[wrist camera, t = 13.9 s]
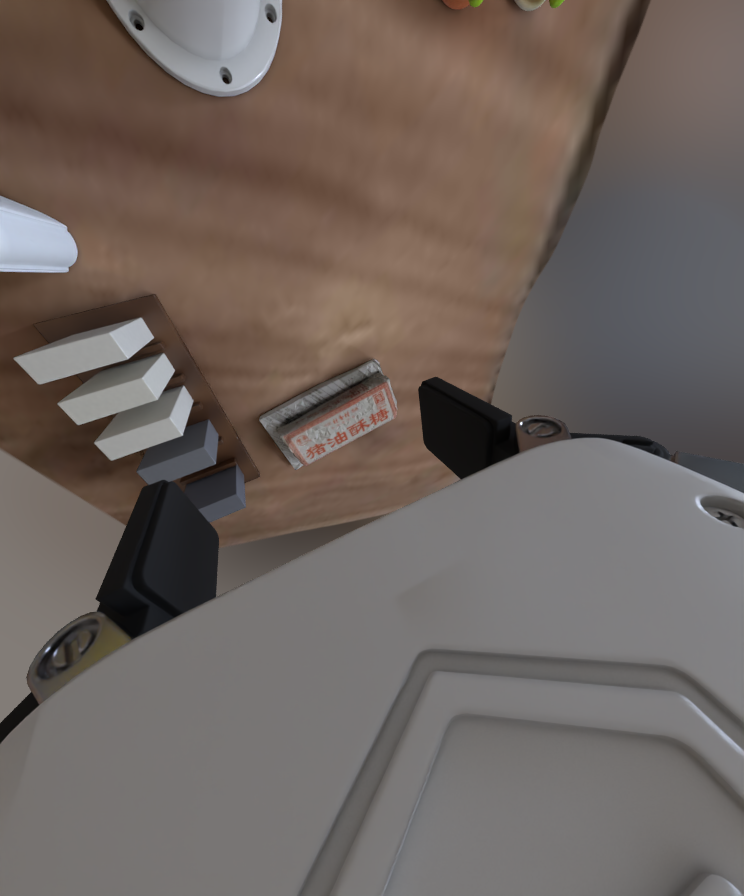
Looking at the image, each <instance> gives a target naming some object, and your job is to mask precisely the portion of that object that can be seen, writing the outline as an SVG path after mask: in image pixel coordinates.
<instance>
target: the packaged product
mask: <svg viewBox="0 0 744 896" xmlns="http://www.w3.org/2000/svg"><path fill="white" fill-rule="evenodd" d="M396 404H397V401H396V399H395V396H394V394H393V391H392V388H391V386H390V379H389V378H387V376H384V375H383V373H382V370H381V367H380V364H379V362H378V361H377V360H375V359H372V360H370V361H368V362H366V363H365V364H363V365H361V366H359V367H357V368H355V369H352V370H350V371H348V372H346V373H343V374H341V375H339V376H337V377H334V378H332V379H330V380H328V381H326V382H323V383H321V384H319V385H317V386H315V387H313V388H311V389H310V390H308V391H306V392H304V393H302V394H300V395H299V396H297V397H295V398H293V399H291V400H289V401H287V402H286V403H284V404H282V405H280V406H278V407H276V408H275V409H273V410H271V411H269V412H267V413H265V414H263V415H262V416H260V419H259V421H260V422H261V423H262V425H263V426H264V428H265V429H266V430H267V432H268V433H269V434H270V436H271V437H272V439H273V440H274V441H275V443H276V444H277V446H278V447H279V448H280V450H281V451H282V452H283V454H284V455H285V456H286V458H287V459H288V461H289V462H290V463H291V465H292V466H293V467H294V469H295V470H297V469H298V468H300V467H301V466H303V465H304V466H307V465H309V464H311V463H313V462H315V461H317V460H319V459H321V458H322V457H324V456H326V455H328V454H330V453H332V452H333V451H335V450H337V449H339V448H341V447H343V446H344V445H346V444H348V443H350V442H352V441H354V440H355V439H357V438H359V437H361V436H363V435H365V434H366V433H368V432H370V431H372V430H374V429H376V428H377V427H379V426H381V425H383V424H385V423H387V422H389V421H391V420H393V419H394V418H395V417H396V416H397V406H396Z"/></svg>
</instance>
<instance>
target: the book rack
mask: <svg viewBox="0 0 744 896" xmlns="http://www.w3.org/2000/svg"><path fill="white" fill-rule="evenodd" d="M140 317H141V318H142V319H143V321H144V322H145V324H146V325H147V327H148V329H149V330H150V332H151V333H152V335H153V336H154V338H153V339H152V340H151V341H150V342H149V343H147V344H146V345H145V346H144V347H142V348H141V349H140V350H139V351H138V352H136V353H135V354H134V355H133V356H131V357H130V358H129V359H127V360H124V361H120V362H117V363H113V364H110V365H106V366H103V367H99V368H96V369H92V370H89V371H85V372H82V373H78V374H76V375H77V376H78V377H79V378H80V380H81V381H82V382H83V383H85V382H87V381H88V380H89V379H91V378H92V377H93V376H95V375H96V374H98V373H99V372H100V371H102V370H106V369H109V368H113V367H116V366H120V365H123V364H126V363H130V362H133V361H137V360H140V359H144V358H147V357H151V356H154V355H158V354H161V353H164V354H165V355H166V357H167V358H168V360H169V362H170V363H171V365H172V366H173V368H174V369H175V372H174V373H173V375H172V377H171V378H170V380H169V382H168V383H167V385H166V387H165V388H164V390H163V392H164V391H167V390H170V389H173V388H176V387H180V386H183V385H184V386H185V388H186V389H187V391H188V393H189V394H190V396H191V397H192V399H193V404H192V407H191V410H190V414H189V417H188V420H187V423H186V426H185V427H188V426H191V425H194V424H196V423H199V422H202V421H205V420H208V419H209V420H210V422H211V424H212V425H213V427H214V428H215V430H216V432H217V433H218V435H219V436H218V447H217V458H216V464H215V465H212V466H210V467H207V468H204V469H202V470H199V471H197V472H194V473H191V474H189V475H186V476H184V477H181V478H178V479H176V480H173V482H175V483H176V484H177V485H178V486H179V487H180V489H181V490H182V491H183V492H185V488H186V484H189V483H191V482H194V481H197V480H199V479H202V478H204V477H207V476H209V475H212V474H215V473H217V472H220V471H222V470H225V469H227V468H230V467H233V466H235V465H238V466H239V468H240V470H241V471H242V473H243V474H244V483H246V482H248V481H251V480H253V479H256V478H258V477H260V473H259V471H258V469H257V468H256V466H255V464H254V463H253V461H252V459H251V457H250V456H249V454H248V452H247V450H246V449H245V447H244V445H243V444H242V442H241V440H240V438H239V437H238V435H237V433H236V432H235V430H234V428H233V426H232V425H231V423H230V421H229V420H228V418H227V416H226V414H225V413H224V411H223V409H222V408H221V406H220V404H219V402H218V401H217V399H216V397H215V395H214V394H213V392H212V390H211V389H210V387H209V385H208V383H207V382H206V380H205V378H204V377H203V375H202V373H201V371H200V370H199V368H198V366H197V365H196V363H195V361H194V359H193V358H192V356H191V354H190V352H189V351H188V349H187V347H186V346H185V344H184V342H183V340H182V339H181V337H180V335H179V334H178V332H177V330H176V328H175V327H174V325H173V323H172V322H171V320H170V318H169V316H168V315H167V313H166V311H165V310H164V308H163V306H162V304H161V303H160V301H159V299H158V297H157V296H156V294H153V295H149V296H145V297H141V298H137V299H133V300H129V301H125V302H121V303H117V304H113V305H109V306H105V307H101V308H96V309H92V310H88V311H84V312H80V313H76V314H72V315H68V316H64V317H60V318H56V319H52V320H48V321H44V322H40V323H36V324H33V325H34V326H35V327H36V329H37V330H38V331H39V332H40V333H41V334H42V335H43V337H44V338H45V339H46V340H47V341H48V342H49V344H50V343H53V342H55V341H58V340H61V339H63V338H66V337H69V336H71V335H74V334H78V333H82V332H86V331H90V330H94V329H97V328H101V327H105V326H109V325H113V324H117V323H121V322H124V321H128V320H132V319H136V318H140ZM118 413H119V412H118ZM118 413H115V414H112V415H111V416H112V417H113V418H115V416H116V415H117V414H118ZM147 449H148V448H146V449H143V450H142V451H143V453H144V454H145V453H146V451H147Z"/></svg>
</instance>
